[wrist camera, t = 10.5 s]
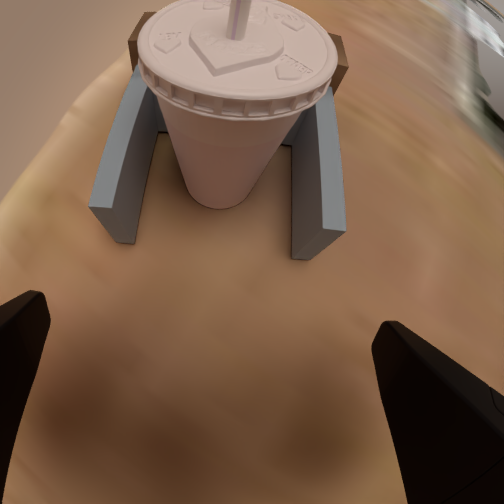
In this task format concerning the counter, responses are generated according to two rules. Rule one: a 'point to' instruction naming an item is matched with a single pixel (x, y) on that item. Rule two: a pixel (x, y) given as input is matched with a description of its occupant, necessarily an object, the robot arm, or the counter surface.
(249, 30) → the smoothie
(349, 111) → the counter surface
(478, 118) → the counter surface
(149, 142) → the cradle
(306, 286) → the counter surface
